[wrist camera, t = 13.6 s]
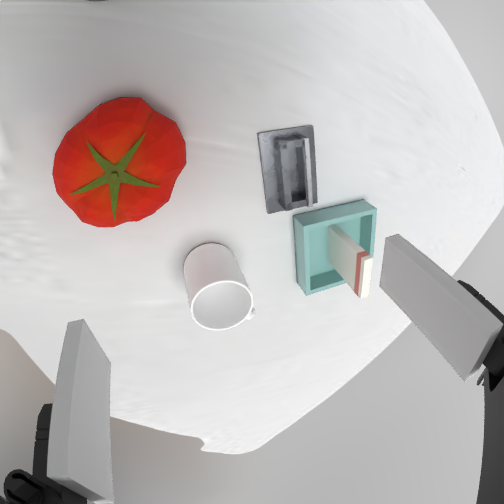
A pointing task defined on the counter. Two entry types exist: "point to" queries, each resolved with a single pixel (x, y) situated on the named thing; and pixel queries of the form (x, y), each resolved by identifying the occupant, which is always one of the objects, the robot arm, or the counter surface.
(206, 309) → the mug
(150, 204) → the tomato
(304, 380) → the counter surface
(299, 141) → the metal rectangular holder
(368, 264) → the cream red-striped panel
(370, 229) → the tray
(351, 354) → the counter surface
